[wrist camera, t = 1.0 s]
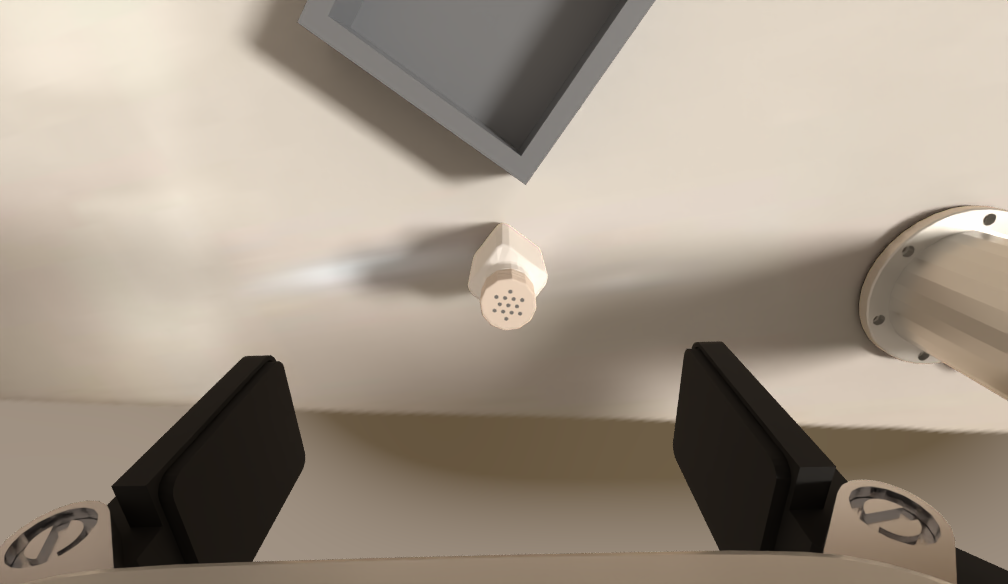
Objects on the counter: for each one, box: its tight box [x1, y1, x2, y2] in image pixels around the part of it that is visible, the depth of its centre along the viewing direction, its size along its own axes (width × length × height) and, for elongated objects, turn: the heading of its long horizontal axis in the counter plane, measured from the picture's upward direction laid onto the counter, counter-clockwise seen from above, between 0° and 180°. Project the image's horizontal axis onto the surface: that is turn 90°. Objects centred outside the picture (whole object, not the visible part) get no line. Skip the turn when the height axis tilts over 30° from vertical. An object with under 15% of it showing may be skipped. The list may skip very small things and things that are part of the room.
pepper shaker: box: [468, 223, 548, 330], centre depth 31 cm, size 4×4×10 cm
